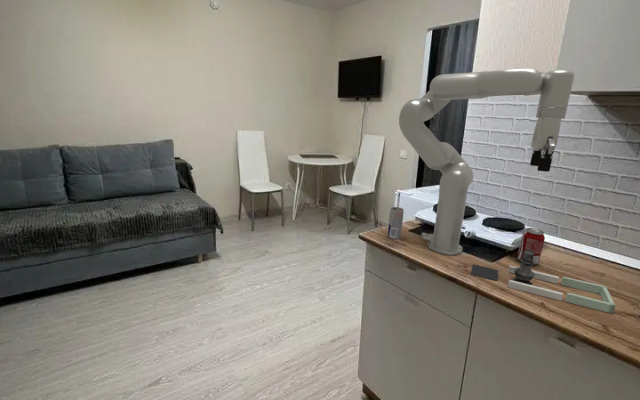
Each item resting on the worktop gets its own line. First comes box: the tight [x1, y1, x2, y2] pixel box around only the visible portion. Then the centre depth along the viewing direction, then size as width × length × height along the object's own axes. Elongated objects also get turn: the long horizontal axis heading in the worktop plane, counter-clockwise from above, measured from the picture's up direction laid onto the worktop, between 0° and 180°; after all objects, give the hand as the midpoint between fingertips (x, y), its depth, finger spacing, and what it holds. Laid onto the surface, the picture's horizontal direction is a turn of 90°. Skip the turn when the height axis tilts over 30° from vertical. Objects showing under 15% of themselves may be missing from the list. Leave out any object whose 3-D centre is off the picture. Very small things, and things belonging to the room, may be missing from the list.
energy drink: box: [387, 206, 405, 240], centre depth 140 cm, size 5×5×12 cm
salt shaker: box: [512, 248, 535, 285], centre depth 109 cm, size 6×6×12 cm
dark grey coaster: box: [470, 263, 499, 282], centre depth 115 cm, size 8×8×1 cm
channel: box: [507, 264, 564, 302], centre depth 109 cm, size 14×12×2 cm
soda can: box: [516, 227, 546, 266], centre depth 123 cm, size 7×7×12 cm
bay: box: [560, 276, 616, 315], centre depth 103 cm, size 11×12×2 cm
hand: (539, 168), depth 111 cm, fingers open, 9 cm apart
